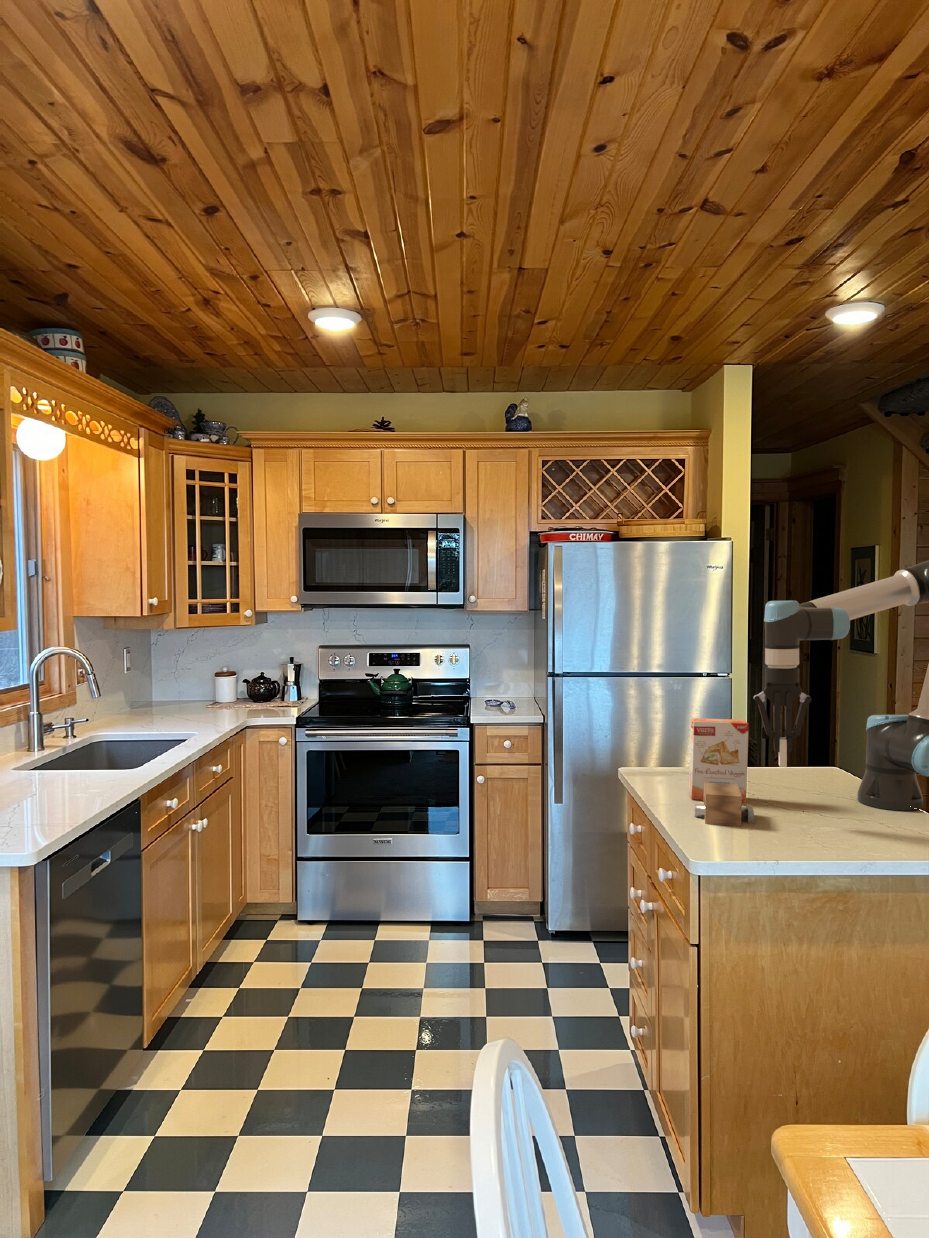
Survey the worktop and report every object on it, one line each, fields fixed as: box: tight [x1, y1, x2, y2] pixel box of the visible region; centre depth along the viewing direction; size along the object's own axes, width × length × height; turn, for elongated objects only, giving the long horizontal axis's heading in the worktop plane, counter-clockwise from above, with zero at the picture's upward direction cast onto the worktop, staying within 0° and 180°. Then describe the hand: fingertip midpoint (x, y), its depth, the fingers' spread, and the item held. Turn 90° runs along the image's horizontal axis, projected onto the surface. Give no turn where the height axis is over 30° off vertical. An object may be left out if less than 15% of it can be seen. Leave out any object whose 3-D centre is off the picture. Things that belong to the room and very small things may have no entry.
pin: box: [694, 803, 755, 825], centre depth 201 cm, size 13×6×3 cm, turn 77°
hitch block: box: [702, 783, 743, 827], centre depth 201 cm, size 8×12×7 cm, turn 166°
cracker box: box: [688, 717, 750, 803], centre depth 219 cm, size 14×6×21 cm, turn 83°
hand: (782, 765), depth 198 cm, fingers closed
